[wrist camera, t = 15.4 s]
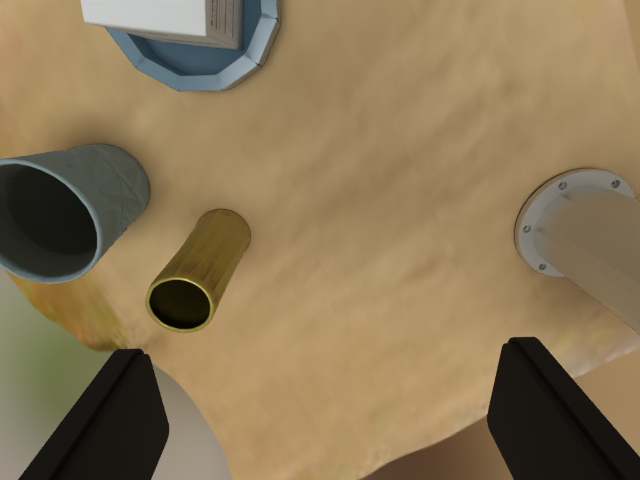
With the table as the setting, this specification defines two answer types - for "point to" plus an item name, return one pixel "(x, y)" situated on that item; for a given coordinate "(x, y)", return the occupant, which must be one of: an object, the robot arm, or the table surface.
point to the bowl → (206, 53)
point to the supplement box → (172, 20)
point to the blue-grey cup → (66, 209)
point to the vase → (198, 273)
